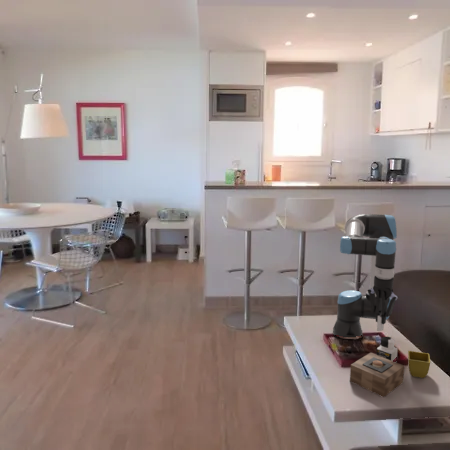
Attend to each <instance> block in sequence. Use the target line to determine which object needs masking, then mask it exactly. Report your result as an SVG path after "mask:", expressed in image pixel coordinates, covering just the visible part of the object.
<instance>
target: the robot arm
mask: <svg viewBox="0 0 450 450" xmlns="http://www.w3.org/2000/svg"><path fill="white" fill-rule="evenodd" d="M396 221H397V220H396V218H395V216H394V215H390V214H373V213H372V214H371V213H359V214H357V215H354V216H352V217H350V218H349V219H348V220H347V221H346V222H345V225H344V230H345V236H341V237H340V241H339V252H340V253H341V254H345V255H359V256H370V271H369V287H368V288H369V289H367V291H365V295H363V294H362V292H360V291H358V290H353V289H352V290H351V289H350V290H348V289H347V290H344V291H341V292H340V293H339V294H338V295H337V296H338V297H337V313H336V321H335V323H334V325H333V328H332V334H333V335H334V336H335V335H339V336H343V337H356V336H361V335H362V336H363V329H362V325H361V321H360V320H361V318H362V319H371V320H375V323H376V331H378V332H382V331H384V326H385V324H386V323H387V320H388V319H389V318H390V317H391V316H392V313H393V310H394V307H395V304H396V301H397V300H398V299H399V298H400V297H399V296H398V295H396V294H395V293H394V290H393V287H394V278H395V277H394V276H395V264H396V263H395V262H396V252H397V242H396V240H395V239H397V237H398V236H397V232H398V231H397V222H396Z"/></svg>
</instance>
